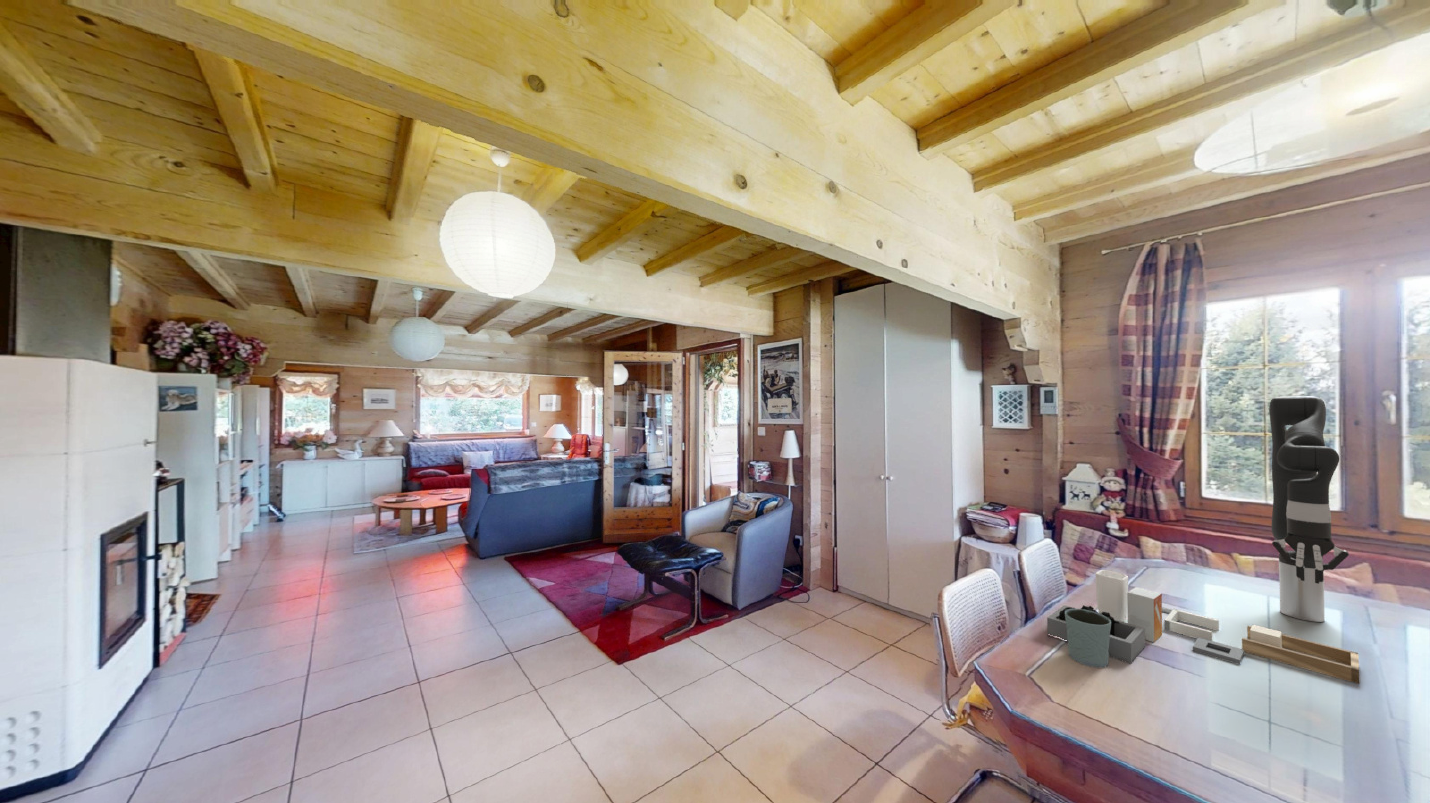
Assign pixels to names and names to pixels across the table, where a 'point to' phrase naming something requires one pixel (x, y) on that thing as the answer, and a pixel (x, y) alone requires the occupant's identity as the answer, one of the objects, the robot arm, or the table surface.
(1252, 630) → the cream cube
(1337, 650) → the wooden u-shaped frame
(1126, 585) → the white rounded prism
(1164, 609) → the crook tool
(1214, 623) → the cream bay
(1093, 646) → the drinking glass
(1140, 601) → the small box
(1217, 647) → the hole frame
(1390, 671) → the table surface
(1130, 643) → the grey rectangular planter box
